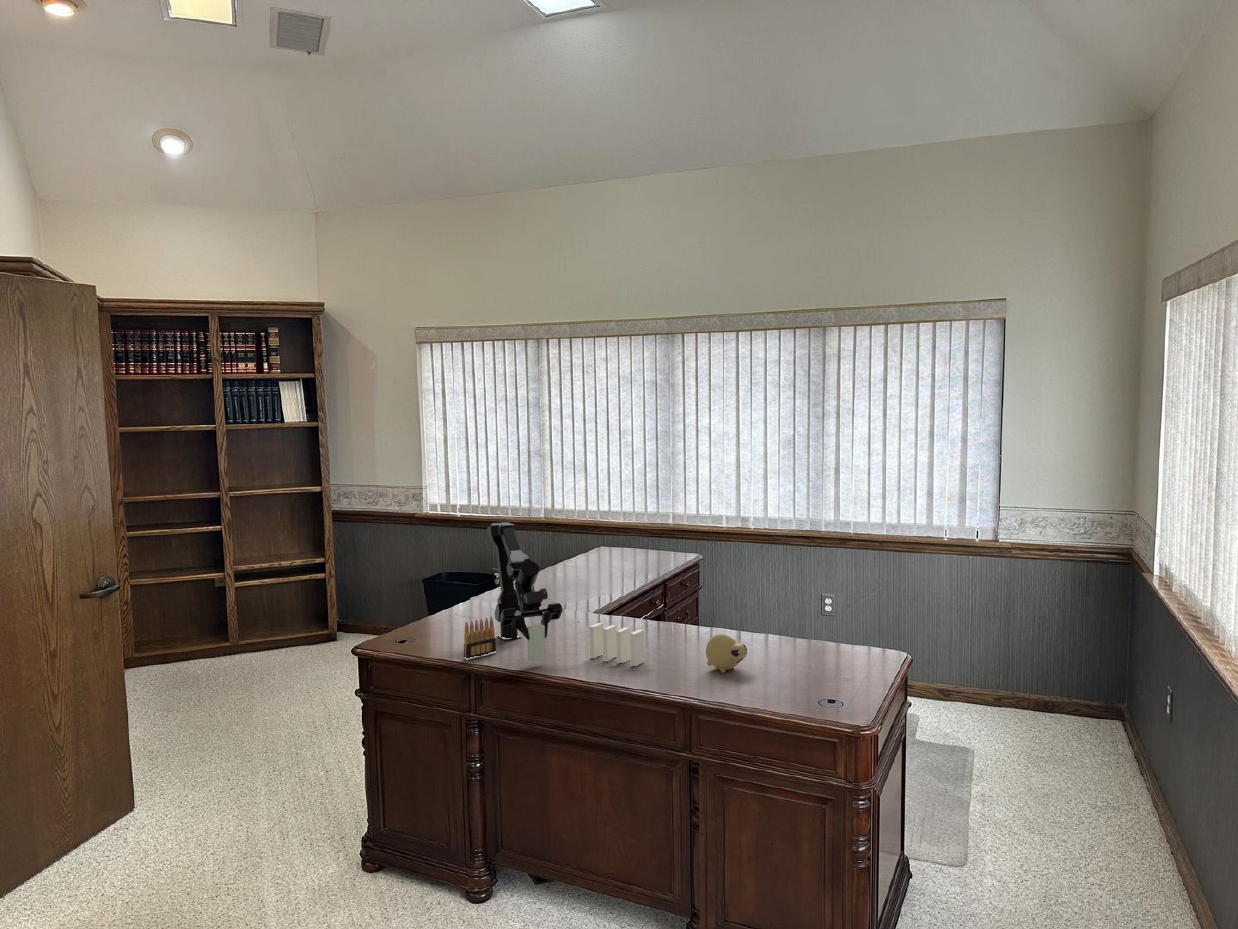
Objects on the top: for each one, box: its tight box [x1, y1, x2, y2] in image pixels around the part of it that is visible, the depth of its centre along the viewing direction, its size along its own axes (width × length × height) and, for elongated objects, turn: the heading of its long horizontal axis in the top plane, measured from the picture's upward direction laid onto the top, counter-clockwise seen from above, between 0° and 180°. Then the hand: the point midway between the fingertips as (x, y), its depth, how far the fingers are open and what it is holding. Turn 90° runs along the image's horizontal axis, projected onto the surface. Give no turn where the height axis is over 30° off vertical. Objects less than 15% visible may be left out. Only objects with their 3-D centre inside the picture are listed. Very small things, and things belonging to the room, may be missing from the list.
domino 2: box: [588, 622, 604, 658], centre depth 268 cm, size 2×5×10 cm, turn 146°
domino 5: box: [630, 629, 645, 667], centre depth 260 cm, size 2×5×10 cm, turn 146°
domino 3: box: [602, 624, 617, 661], centre depth 265 cm, size 2×5×10 cm, turn 146°
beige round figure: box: [705, 633, 748, 674], centre depth 252 cm, size 10×12×11 cm
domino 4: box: [616, 626, 631, 663], centre depth 262 cm, size 2×5×10 cm, turn 146°
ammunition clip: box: [463, 615, 497, 658], centre depth 271 cm, size 11×2×12 cm, turn 128°
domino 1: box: [526, 624, 546, 661], centre depth 261 cm, size 2×5×10 cm, turn 112°
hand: (537, 638), depth 259 cm, fingers closed on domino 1, 5 cm apart
